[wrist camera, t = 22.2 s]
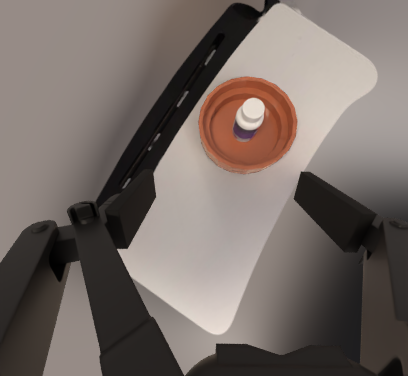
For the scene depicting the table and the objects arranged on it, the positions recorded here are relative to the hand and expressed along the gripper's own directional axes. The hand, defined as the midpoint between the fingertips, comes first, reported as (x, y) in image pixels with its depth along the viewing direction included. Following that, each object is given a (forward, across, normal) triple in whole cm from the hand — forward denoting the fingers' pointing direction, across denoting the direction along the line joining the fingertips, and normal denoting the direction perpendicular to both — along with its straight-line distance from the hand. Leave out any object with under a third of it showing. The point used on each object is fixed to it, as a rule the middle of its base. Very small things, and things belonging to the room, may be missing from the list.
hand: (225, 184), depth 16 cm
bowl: (+23, +6, +2) cm, 23 cm away
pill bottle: (+22, +6, +2) cm, 23 cm away
